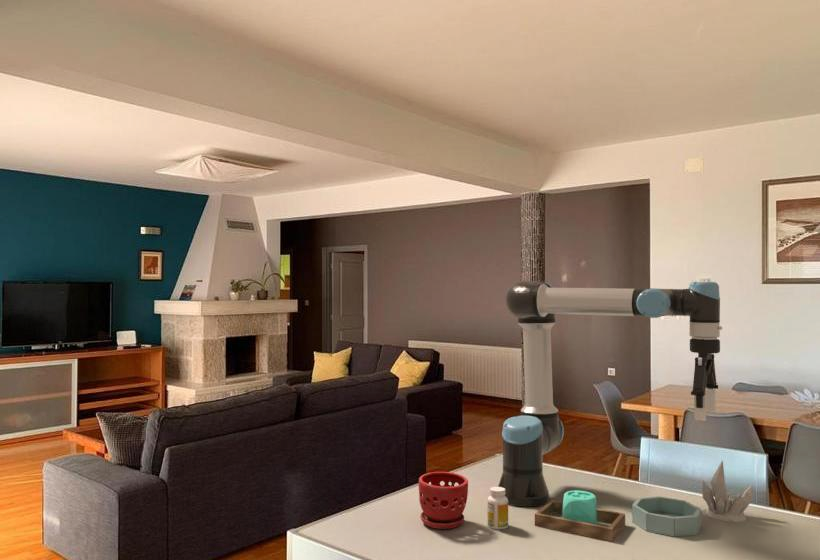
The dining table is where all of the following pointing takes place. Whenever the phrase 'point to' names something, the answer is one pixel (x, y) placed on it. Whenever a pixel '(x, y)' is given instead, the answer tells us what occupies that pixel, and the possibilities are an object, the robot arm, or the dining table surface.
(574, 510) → the decorative dice
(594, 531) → the rectangular frame
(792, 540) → the dining table surface
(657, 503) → the bowl
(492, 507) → the supplement bottle
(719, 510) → the crystal
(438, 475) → the plant pot
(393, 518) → the dining table surface
